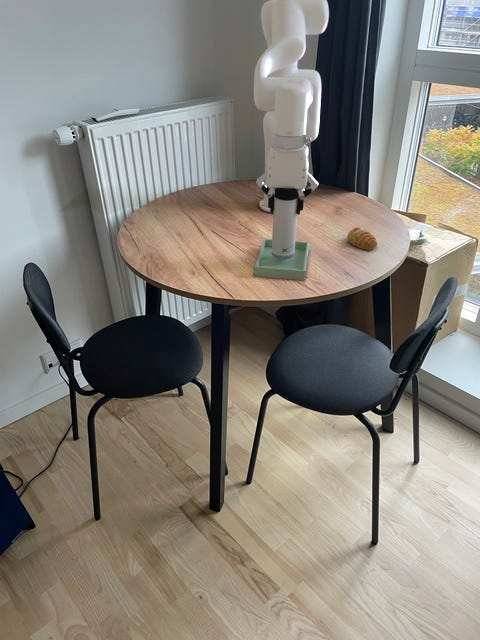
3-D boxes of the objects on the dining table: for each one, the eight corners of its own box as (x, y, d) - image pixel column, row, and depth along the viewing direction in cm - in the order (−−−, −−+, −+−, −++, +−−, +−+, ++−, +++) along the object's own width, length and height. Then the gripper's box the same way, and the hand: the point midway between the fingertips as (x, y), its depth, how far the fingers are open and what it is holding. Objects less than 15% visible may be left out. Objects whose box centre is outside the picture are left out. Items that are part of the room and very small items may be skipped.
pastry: (382, 247, 142) (384, 235, 140) (365, 253, 140) (367, 241, 137) (360, 235, 149) (362, 224, 147) (343, 241, 146) (345, 229, 144)
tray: (263, 247, 143) (263, 238, 141) (308, 250, 141) (309, 241, 140) (254, 276, 129) (254, 266, 128) (304, 280, 127) (305, 271, 126)
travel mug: (288, 262, 130) (293, 190, 119) (267, 256, 133) (270, 184, 121) (299, 253, 134) (305, 182, 123) (278, 247, 137) (281, 177, 126)
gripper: (326, 138, 118) (319, 208, 128) (255, 135, 120) (254, 204, 131) (325, 147, 112) (318, 219, 122) (251, 143, 114) (250, 215, 125)
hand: (285, 211), depth 126 cm, fingers closed on travel mug, 6 cm apart
